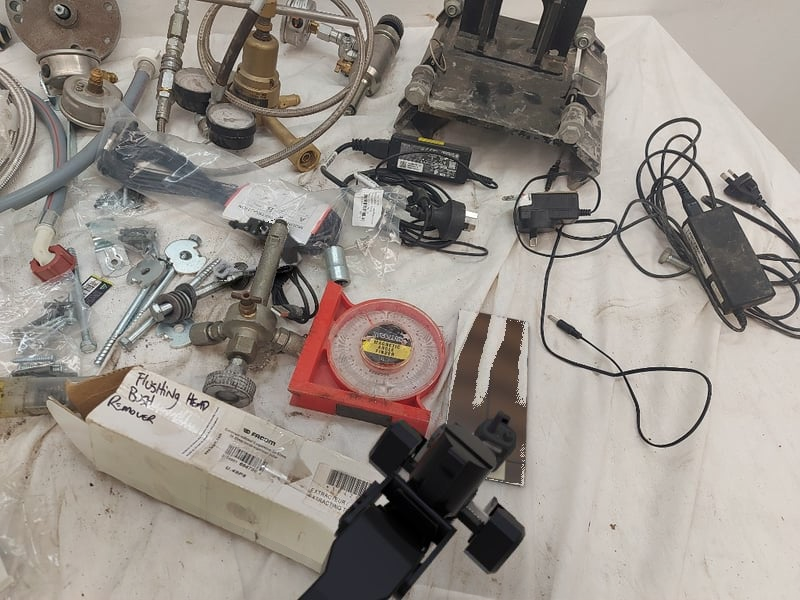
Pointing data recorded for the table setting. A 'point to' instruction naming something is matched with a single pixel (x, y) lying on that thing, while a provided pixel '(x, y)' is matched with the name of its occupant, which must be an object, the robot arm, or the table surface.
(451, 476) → the robot arm
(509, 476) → the board
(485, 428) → the two-way radio
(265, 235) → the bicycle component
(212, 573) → the table surface
